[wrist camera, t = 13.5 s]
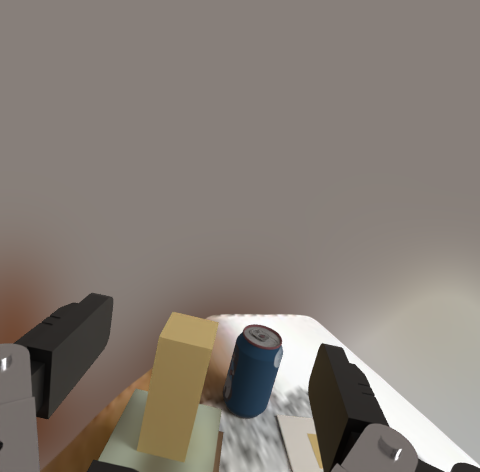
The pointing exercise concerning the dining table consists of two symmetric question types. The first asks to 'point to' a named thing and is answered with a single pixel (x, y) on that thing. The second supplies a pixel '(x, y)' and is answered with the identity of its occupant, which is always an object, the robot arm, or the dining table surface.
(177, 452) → the tall brick
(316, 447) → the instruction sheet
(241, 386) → the soda can
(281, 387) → the dining table surface
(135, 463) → the tower base
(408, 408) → the dining table surface
